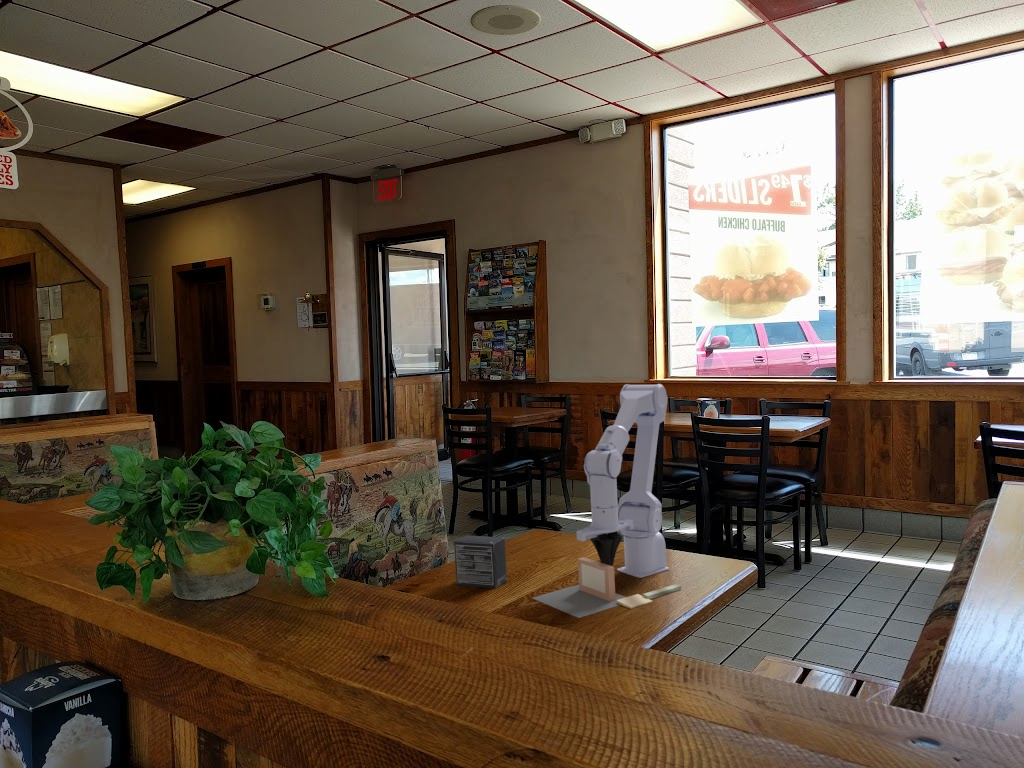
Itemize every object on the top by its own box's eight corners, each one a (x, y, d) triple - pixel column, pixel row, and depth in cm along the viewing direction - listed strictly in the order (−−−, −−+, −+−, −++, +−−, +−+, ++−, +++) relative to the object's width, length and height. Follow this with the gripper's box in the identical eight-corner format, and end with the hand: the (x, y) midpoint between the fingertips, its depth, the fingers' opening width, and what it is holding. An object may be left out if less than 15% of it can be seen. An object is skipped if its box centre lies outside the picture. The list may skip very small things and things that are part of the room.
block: (585, 588, 173) (583, 557, 172) (615, 599, 164) (613, 566, 164) (579, 590, 172) (577, 558, 171) (609, 601, 163) (607, 568, 163)
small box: (508, 581, 182) (506, 536, 181) (496, 589, 176) (493, 544, 175) (468, 577, 186) (466, 533, 186) (455, 585, 180) (452, 541, 180)
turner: (671, 586, 171) (671, 581, 171) (686, 592, 167) (686, 588, 167) (616, 602, 162) (616, 597, 162) (631, 609, 158) (631, 605, 158)
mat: (585, 583, 177) (585, 582, 176) (634, 601, 163) (634, 600, 163) (531, 599, 168) (531, 597, 168) (579, 619, 155) (578, 617, 155)
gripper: (617, 497, 176) (619, 557, 177) (566, 508, 168) (569, 570, 169) (638, 502, 170) (641, 563, 171) (587, 513, 162) (590, 578, 163)
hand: (607, 567), depth 169 cm, fingers closed
